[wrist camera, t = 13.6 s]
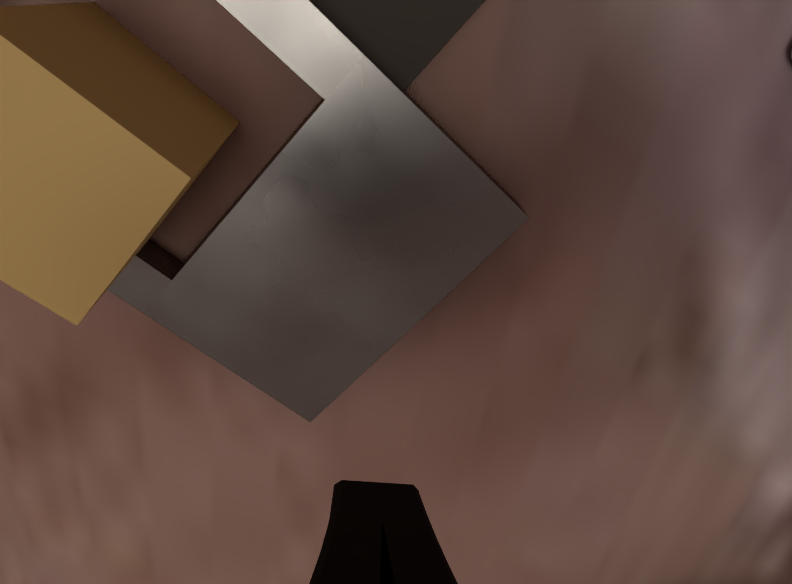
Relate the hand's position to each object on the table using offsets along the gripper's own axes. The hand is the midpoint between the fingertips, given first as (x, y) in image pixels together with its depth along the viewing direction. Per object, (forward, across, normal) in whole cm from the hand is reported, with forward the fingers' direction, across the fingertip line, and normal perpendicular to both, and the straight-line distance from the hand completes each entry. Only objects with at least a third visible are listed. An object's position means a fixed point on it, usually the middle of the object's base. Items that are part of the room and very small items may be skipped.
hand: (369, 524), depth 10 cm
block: (+10, +7, -4) cm, 13 cm away
